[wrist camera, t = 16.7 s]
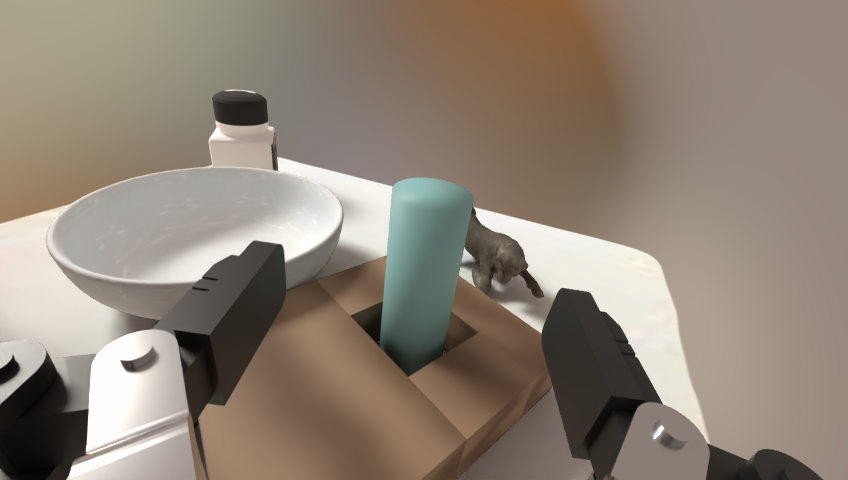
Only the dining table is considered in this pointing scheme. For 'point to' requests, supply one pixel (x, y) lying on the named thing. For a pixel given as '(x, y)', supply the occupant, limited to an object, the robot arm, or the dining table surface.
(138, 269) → the serving bowl
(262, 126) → the medicine bottle
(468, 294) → the socket board
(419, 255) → the pin
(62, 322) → the dining table surface
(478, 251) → the dog figurine
